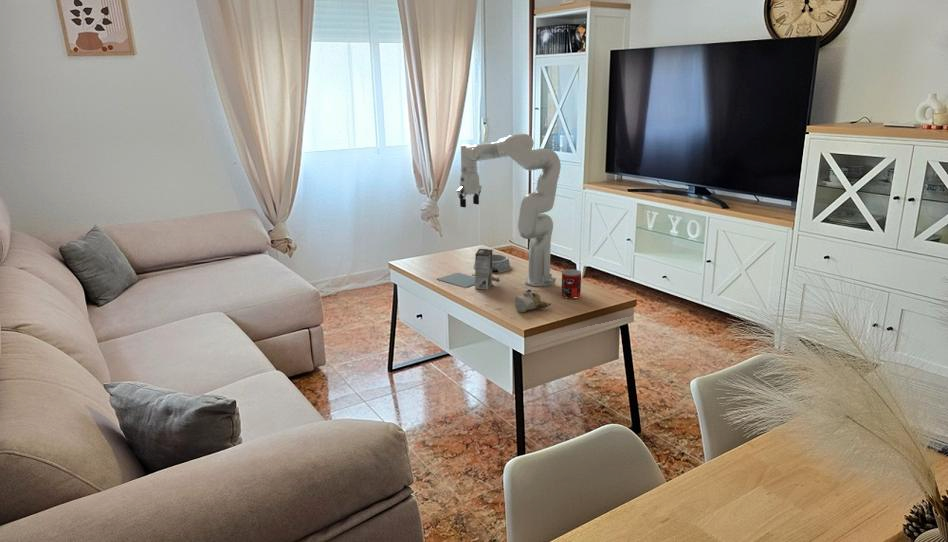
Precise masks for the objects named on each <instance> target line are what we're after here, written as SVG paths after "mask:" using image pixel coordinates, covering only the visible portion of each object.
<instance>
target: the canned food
mask: <svg viewBox="0 0 948 542" xmlns="http://www.w3.org/2000/svg"><path fill="white" fill-rule="evenodd" d="M561 272H562V273H561V297H562V296H563V297H567V298H574V297H579V296H580V297H581V291H582V290H581V289H582V271H581V270H579V269H572V268H571V269H570V268H569V269H563V270H562V271H561ZM563 297H562V298H563ZM580 297H579V298H580Z"/></svg>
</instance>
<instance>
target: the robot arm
mask: <svg viewBox="0 0 948 542" xmlns="http://www.w3.org/2000/svg"><path fill="white" fill-rule="evenodd" d="M534 145H535V142H534V139H533V137H532V136H530V135H529V134H527V133H519V134H518V133H517V134H509V135H508V136H507V137H502V138H499V139H498V141H494V142H489V143H479V144H474V143H463V144H461V146H460V172H461V173H460V179H459V188H458V189H457V190H456V193H457V196H458V198H459V207H460V208H466V207H467V203H466V202H467V199H466V197H467V196H470V195H473V196H472V201H473V203H472V204H473V205H479V204H480V196H481V193H482V187H483V186H482V185H481V183H480V176H479V173H478V165H477V164H478V162H480V161H487V160H489V161H490V160H494V159H500V158H507V157H509V158H511V159H512V160H513V161H514V162H515V163H516V164H518V165H519V166H520V167H521V168H522V169H524V170H526V171H536V170H542V171H541V172H540V174H539V177H538V180H537V183H536V188H535V191H533V192H530V193H528V194H526V195H525V196H524V197H523V199H522V200H521V202H520V208H519V209H520V210H519V215H518V220H517V221H518V223H517V230H518V233H519V236H520V237H522V239H525V240H529V245H528V277H526V278H525V280H524V281H525V284H526V285H528V286H531V287H538V288H539V287H548V286H551V285H553V284H555V283H556V281H557V278H556V277H553V274H552V273H551V245H552V244H551V243H552V242H551V241H552V236H553V230H554V221H553V219H552V216H550V215H548V214H546V213H548V212H550V211H551V210H552V209H553V207H554V205H555V200H556V192H557V187H558V181H559V177H560V173H561V159H560V157H559V155H558V154H557V152H556V151H554V150H553V149H550V148H536V149H533V147H534Z"/></svg>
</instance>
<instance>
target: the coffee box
mask: <svg viewBox="0 0 948 542" xmlns="http://www.w3.org/2000/svg"><path fill="white" fill-rule="evenodd" d="M474 254H475V255H474V256H475V258H474V259H475V260H474V264H475V269H474V273H475V276H474V277H475V285H474V289H478V290H488V291H489V289H490V288H491V286H492V284H493V280H492V276H493V270H492V254H493V249H487V248H478V249H477V251H476V253H474Z"/></svg>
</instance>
